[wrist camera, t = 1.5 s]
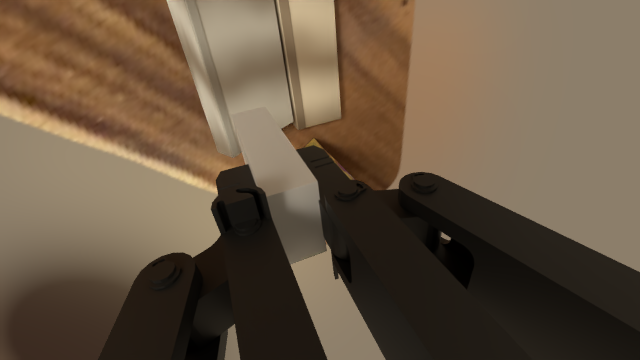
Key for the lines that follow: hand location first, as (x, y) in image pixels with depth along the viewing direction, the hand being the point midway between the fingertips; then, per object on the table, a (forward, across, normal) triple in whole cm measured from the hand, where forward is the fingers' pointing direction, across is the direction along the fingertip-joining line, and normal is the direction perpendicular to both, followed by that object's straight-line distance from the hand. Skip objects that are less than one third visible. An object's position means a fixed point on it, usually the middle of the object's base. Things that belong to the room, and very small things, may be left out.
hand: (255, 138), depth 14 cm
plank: (+15, +1, 0) cm, 15 cm away
